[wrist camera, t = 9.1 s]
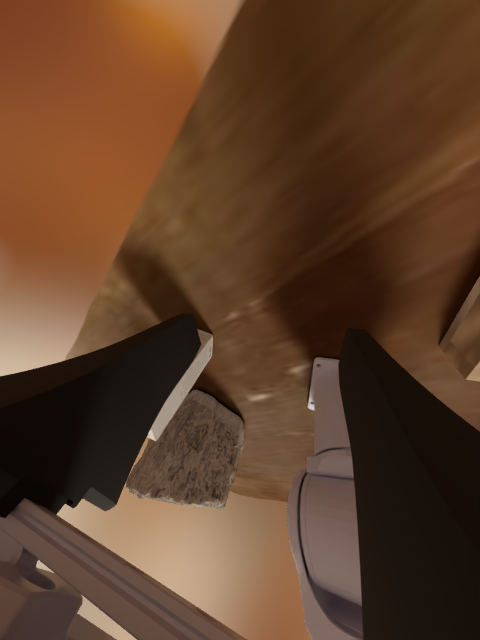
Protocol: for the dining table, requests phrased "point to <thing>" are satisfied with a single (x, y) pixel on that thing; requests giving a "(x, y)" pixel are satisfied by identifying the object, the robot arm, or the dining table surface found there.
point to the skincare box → (183, 386)
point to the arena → (465, 337)
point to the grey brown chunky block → (192, 455)
